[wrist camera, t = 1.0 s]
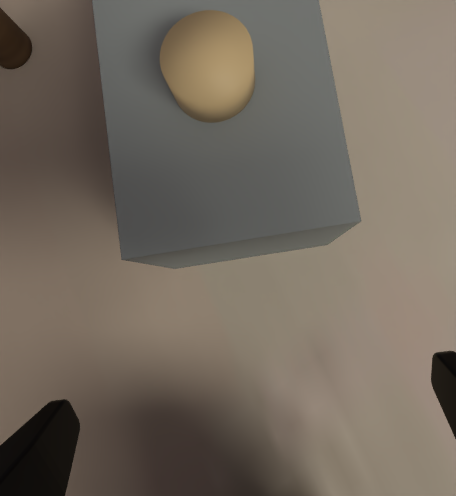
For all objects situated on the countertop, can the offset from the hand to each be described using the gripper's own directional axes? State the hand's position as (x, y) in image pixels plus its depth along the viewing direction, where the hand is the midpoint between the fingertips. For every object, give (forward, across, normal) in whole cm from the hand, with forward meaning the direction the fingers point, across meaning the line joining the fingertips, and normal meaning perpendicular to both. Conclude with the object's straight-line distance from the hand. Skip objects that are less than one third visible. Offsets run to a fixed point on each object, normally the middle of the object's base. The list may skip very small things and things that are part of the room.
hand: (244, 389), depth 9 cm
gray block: (+18, 0, -2) cm, 19 cm away
